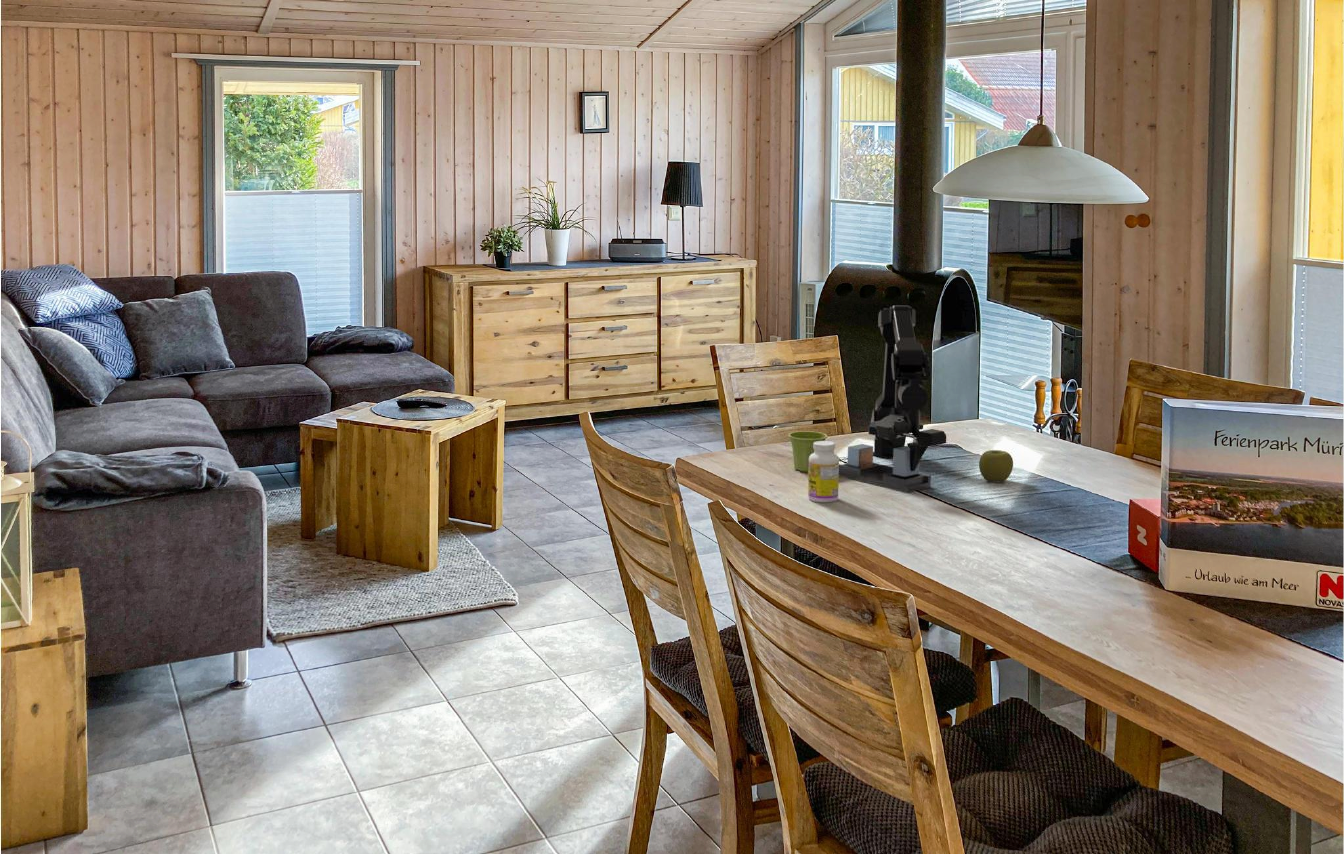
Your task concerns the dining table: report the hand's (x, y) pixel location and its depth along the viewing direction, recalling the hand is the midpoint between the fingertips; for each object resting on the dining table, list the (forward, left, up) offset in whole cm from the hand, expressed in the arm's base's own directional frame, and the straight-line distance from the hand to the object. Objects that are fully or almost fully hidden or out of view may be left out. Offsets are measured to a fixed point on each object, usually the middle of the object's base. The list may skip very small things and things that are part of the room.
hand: (905, 469), depth 276 cm
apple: (-20, +10, -4) cm, 23 cm away
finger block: (0, 0, -1) cm, 1 cm away
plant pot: (+5, -27, -4) cm, 28 cm away
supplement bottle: (+23, -4, -4) cm, 24 cm away
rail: (0, -7, -4) cm, 8 cm away
